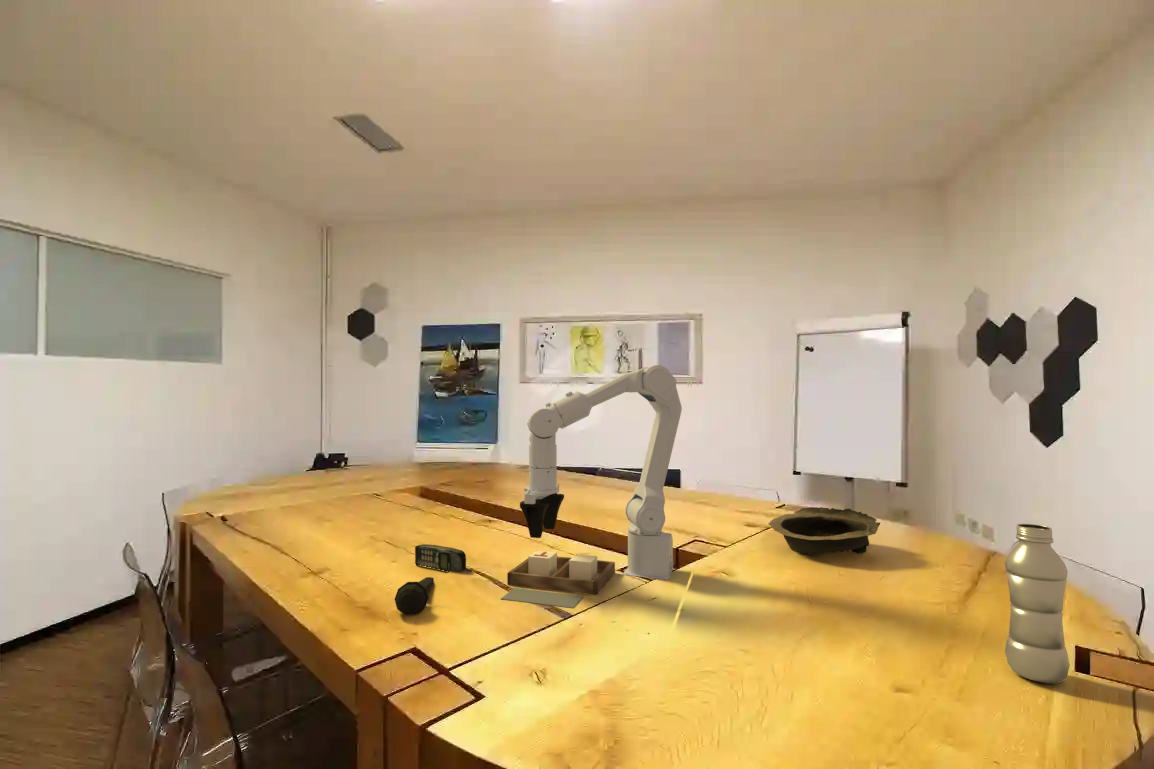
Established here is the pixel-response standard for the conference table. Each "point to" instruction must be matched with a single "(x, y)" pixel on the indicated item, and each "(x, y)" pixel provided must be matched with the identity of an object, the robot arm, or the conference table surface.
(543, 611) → the conference table surface
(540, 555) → the letter cube
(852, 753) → the conference table surface
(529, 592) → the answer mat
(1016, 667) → the plastic bottle
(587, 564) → the blank cube
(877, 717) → the conference table surface
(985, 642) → the conference table surface
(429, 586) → the microphone
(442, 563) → the mobile phone
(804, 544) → the stone bowl
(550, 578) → the organizer
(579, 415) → the robot arm
